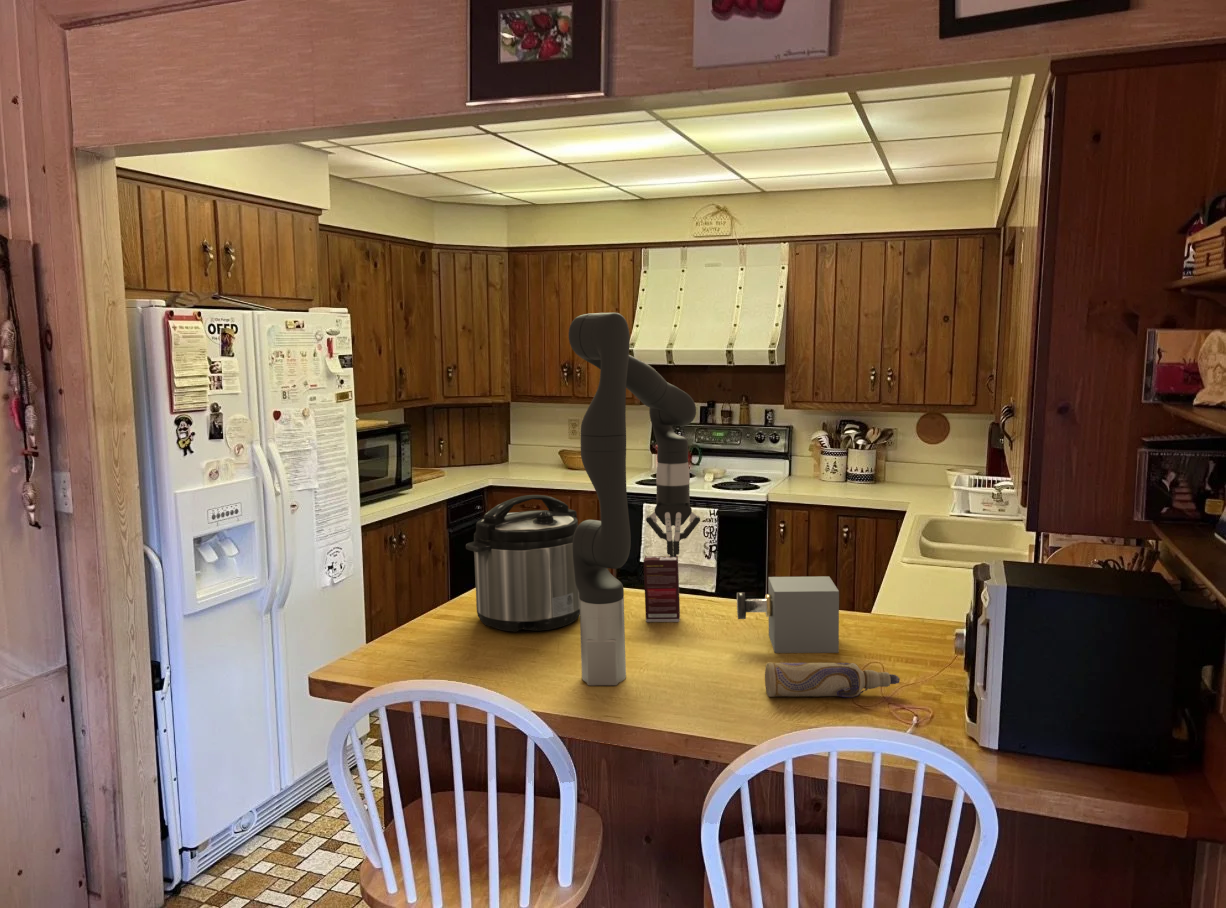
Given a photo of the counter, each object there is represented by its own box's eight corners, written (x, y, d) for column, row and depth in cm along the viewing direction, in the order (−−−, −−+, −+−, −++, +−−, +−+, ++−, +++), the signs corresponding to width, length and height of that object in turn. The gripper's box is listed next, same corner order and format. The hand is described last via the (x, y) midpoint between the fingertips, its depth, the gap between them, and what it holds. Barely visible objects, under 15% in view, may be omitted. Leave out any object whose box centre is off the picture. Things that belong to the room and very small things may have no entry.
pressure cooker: (586, 598, 243) (582, 483, 238) (594, 632, 215) (589, 503, 211) (474, 604, 240) (468, 488, 236) (468, 640, 212) (461, 509, 208)
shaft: (831, 622, 199) (831, 596, 198) (738, 622, 200) (738, 596, 200) (827, 613, 205) (827, 588, 204) (736, 614, 206) (736, 589, 206)
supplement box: (680, 616, 225) (678, 555, 223) (679, 622, 220) (678, 560, 218) (646, 616, 226) (644, 555, 224) (644, 622, 221) (643, 560, 219)
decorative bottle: (768, 704, 171) (768, 670, 171) (764, 688, 179) (763, 656, 178) (905, 702, 170) (905, 669, 169) (894, 687, 177) (895, 655, 177)
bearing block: (838, 652, 197) (838, 591, 195) (774, 652, 198) (774, 591, 196) (828, 634, 209) (829, 576, 207) (768, 634, 210) (768, 576, 208)
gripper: (643, 484, 200) (643, 560, 202) (702, 484, 199) (702, 560, 201) (644, 479, 207) (645, 552, 209) (701, 479, 206) (701, 552, 208)
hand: (673, 556), depth 205 cm, fingers closed
